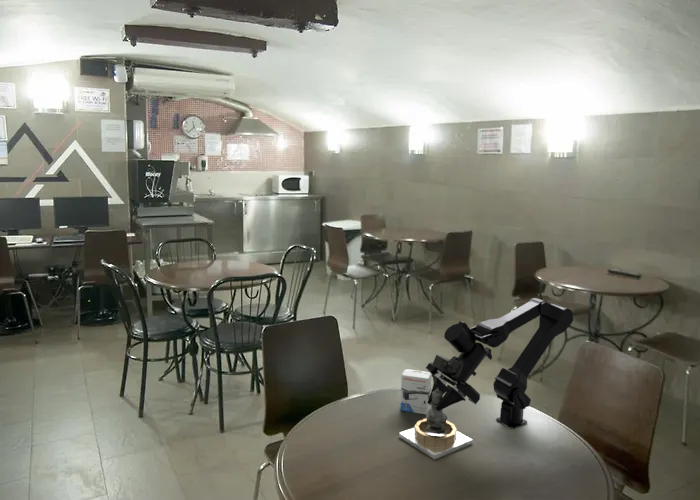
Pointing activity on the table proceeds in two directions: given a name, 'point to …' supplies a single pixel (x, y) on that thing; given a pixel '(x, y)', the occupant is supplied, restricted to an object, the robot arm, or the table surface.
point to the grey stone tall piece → (436, 415)
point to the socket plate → (435, 449)
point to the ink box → (415, 391)
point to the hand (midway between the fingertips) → (432, 406)
